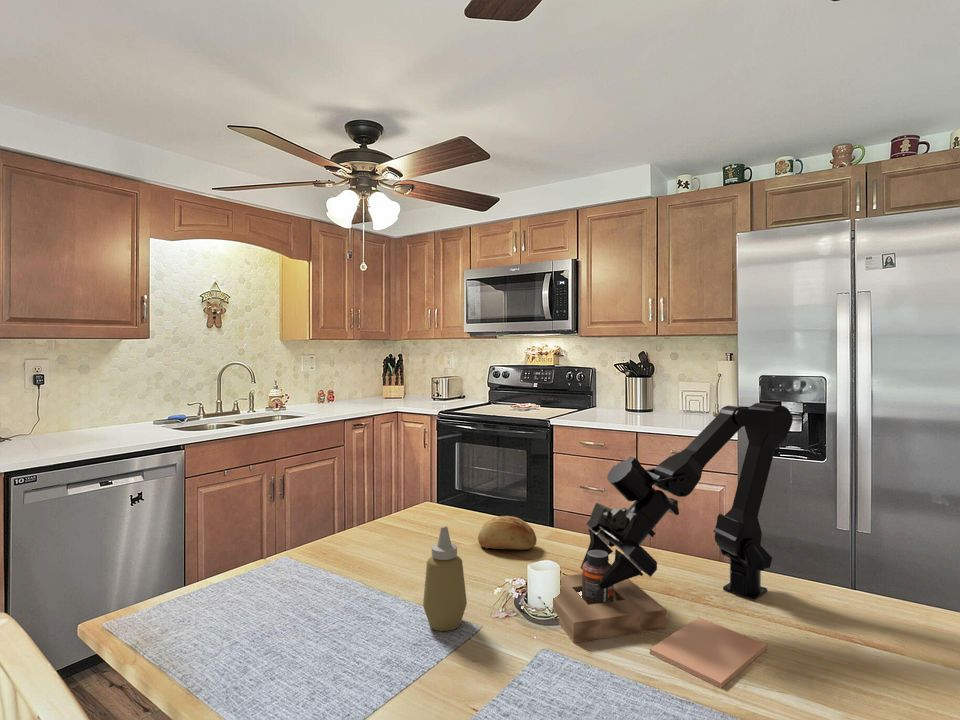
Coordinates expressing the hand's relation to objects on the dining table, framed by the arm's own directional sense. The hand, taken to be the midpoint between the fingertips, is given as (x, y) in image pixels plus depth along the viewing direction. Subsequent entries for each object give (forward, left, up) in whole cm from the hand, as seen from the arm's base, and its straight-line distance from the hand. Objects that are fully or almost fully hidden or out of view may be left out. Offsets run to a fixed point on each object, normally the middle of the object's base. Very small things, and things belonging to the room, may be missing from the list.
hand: (591, 578), depth 103 cm
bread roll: (-10, -35, -7) cm, 37 cm away
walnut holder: (-1, +1, -7) cm, 7 cm away
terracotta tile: (-4, +21, -7) cm, 23 cm away
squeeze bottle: (+24, -15, -7) cm, 29 cm away
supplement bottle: (-1, +1, -7) cm, 7 cm away
